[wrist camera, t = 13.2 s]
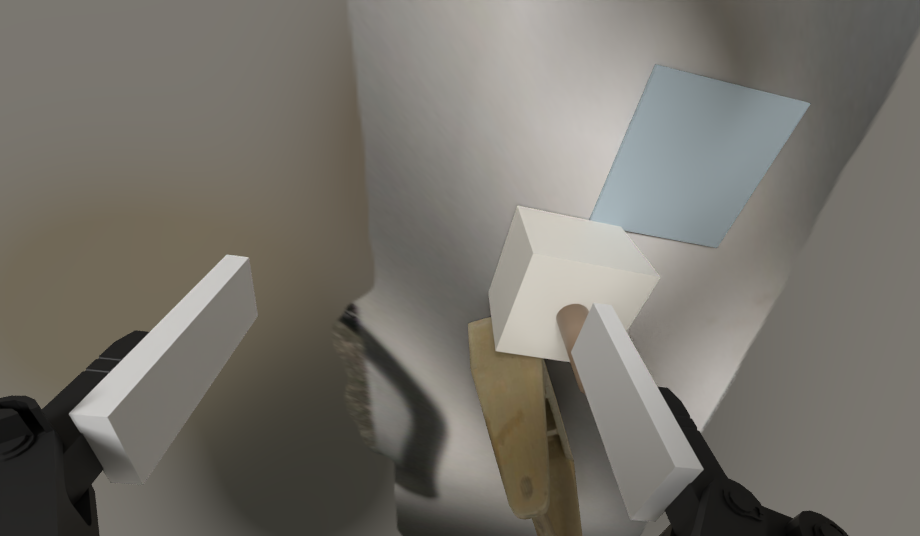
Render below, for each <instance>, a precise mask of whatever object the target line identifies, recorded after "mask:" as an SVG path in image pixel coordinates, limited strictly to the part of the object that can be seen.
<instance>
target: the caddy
mask: <svg viewBox="0 0 920 536" xmlns="http://www.w3.org/2000/svg"><path fill="white" fill-rule="evenodd" d="M468 334H469V349H470V368H471V373H472V376H473V380H474V383H475V387H476V390H477V394H478V397H479V400H480V404H481V407H482V411H483V415H484V418H485V422H486V426H487V429H488V433H489V436H490V440H491V444H492V447H493V451H494V454H495V457H496V461H497V464H498V468H499V471H500V475H501V478H502V482H503V485H504V489H505V492H506V495H507V499H508V502H509V506H510V507H511V509H512V511H513V513H514V514H515V515H516V516H517V517H518V518H519V519H531V518H532V520H533V523H534V526H535V529H536V533H537V536H582V529H581V520H580V511H579V503H578V495H577V485H576V477H575V468H574V460H573V456H572V453H571V449H570V446H569V442H568V438H567V434H566V431H565V427H564V424H563V420H562V417H561V413H560V410H559V406H558V403H557V400H556V397H555V393H554V390H553V387H552V383H551V380H550V377H549V374H548V371H547V367H546V364H545V361H544V358H538V357H532V356H525V355H518V354H512V353H505V352H498V351H495V343H494V335H493V327H492V319H491V317H488V318H484V319H481V320H478V321H474V322H471V323H468Z"/></svg>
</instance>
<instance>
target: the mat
mask: <svg viewBox="0 0 920 536" xmlns="http://www.w3.org/2000/svg"><path fill="white" fill-rule="evenodd" d="M810 104H811V103H808V102H804V101H800V100H796V99H792V98H788V97H784V96H780V95H776V94H772V93H768V92H764V91H760V90H756V89H752V88H748V87H744V86H740V85H736V84H732V83H728V82H724V81H720V80H716V79H712V78H708V77H704V76H700V75H696V74H692V73H688V72H684V71H680V70H676V69H672V68H668V67H664V66H660V65H656V64H655V66H654V68H653V71H652V73H651V75H650V78H649V80H648V82H647V85H646V87H645V89H644V92H643V94H642V96H641V99H640V101H639V103H638V106H637V108H636V111H635V113H634V115H633V118H632V120H631V122H630V125H629V127H628V129H627V132H626V134H625V136H624V139H623V141H622V144H621V146H620V148H619V151H618V153H617V155H616V158H615V160H614V162H613V165H612V167H611V169H610V172H609V174H608V176H607V179H606V181H605V184H604V186H603V188H602V191H601V193H600V195H599V198H598V200H597V202H596V205H595V207H594V209H593V212H592V214H591V217H590V219H589V220H591V221H596V222H601V223H606V224H611V225H615V226H620V227H622V229H623V230H624V231H630V232H635V233H640V234H645V235H651V236H656V237H661V238H667V239H672V240H677V241H682V242H688V243H693V244H698V245H704V246H709V247H714V248H717V247H718V246H719V244H720V243H721V241H722V240H723V238H724V237H725V235H726V233H727V232H728V230H729V229H730V227H731V226H732V224H733V223H734V221H735V220H736V218H737V216H738V215H739V213H740V212H741V210H742V209H743V207H744V206H745V204H746V203H747V201H748V199H749V198H750V196H751V195H752V193H753V192H754V190H755V189H756V187H757V186H758V184H759V183H760V181H761V179H762V178H763V176H764V175H765V173H766V172H767V170H768V169H769V167H770V166H771V164H772V162H773V161H774V159H775V158H776V156H777V155H778V153H779V152H780V150H781V149H782V147H783V145H784V144H785V142H786V141H787V139H788V138H789V136H790V135H791V133H792V132H793V130H794V128H795V127H796V125H797V124H798V122H799V121H800V119H801V118H802V116H803V115H804V113H805V112H806V110H807V108H808V107H809V105H810Z"/></svg>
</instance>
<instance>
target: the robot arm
mask: <svg viewBox="0 0 920 536" xmlns="http://www.w3.org/2000/svg"><path fill="white" fill-rule="evenodd" d="M257 316H258V313H257V308H256V301H255V294H254V288H253V281H252V274H251V268H250V261H249V258H248V257H240V256H233V255H226V256H225V257H224V258H223V259H222V260H221V261H220V262H219V263H218V264H217V265H216V266H215V267H214V268H213V269H212V270H211V271H210V272H209V273H208V274H207V275H206V276H205V277H204V278H203V279H202V280H201V281H200V282H199V283H198V284H197V285H196V286H195V287H194V288H193V289H192V290H191V292H189V293H188V294H187V295H186V296H185V297H184V298H183V299H182V300H181V301H180V302H179V303H178V304H177V305H176V306H175V307H174V308H173V309H172V310H171V311H170V312H169V313H168V314H167V315H166V316H165V317H164V318H163V319H162V320H161V321H160V322H159V323H158V325H156V326H155V327H154V328H153V329H152V330H151V331H150V332H145V331H134V332H132V333H130V334H128V335H126V336H124V337H123V338H121V339H119V340H117V341H116V342H114V343H113V344H112V345H111V346H110V347H109V348H108V349H106V350H105V351H104V352H103V353H102V354H101V355H100V356H99V359H96V360H95V361H94V362H92V364H90V366H88V367H87V368H86V371H84V372H82V373H81V374H80V375H78V376H77V377H76V378H75V379H74V380H73V381H72V382H71V383H70V384H69V385H68V386H67V387H66V388H65V389H63V390H62V391H61V392H60V393H59V394H58V395H57V396H56V397H55V398H54V399H53V400H52V401H51V402H49V403H48V404H47V405H46V406H45V407H44V408H43V409H41V408H40V406H39V405H38V404H37V402H36V401H35V400H34V399H32V398H30V397H27V396H8V397H3V398H0V536H99V527H98V517H97V508H96V499H95V491H94V489H93V487H92V485H91V484H92V483H93V482H94V480H95V479H96V478H97V477H98V475H99V474H100V473H101V472H102V470H103V471H104V473H105V474H106V476H107V478H108V479H109V481H110V482H111V483H124V484H137V485H143V484H144V483H145V481H146V480H147V478H148V477H149V475H150V474H151V472H152V471H153V470H154V468H155V467H156V465H157V464H158V462H159V461H160V459H161V458H162V456H163V455H164V453H165V452H166V450H167V449H168V447H169V446H170V444H171V443H172V441H173V440H174V439H175V437H176V435H177V434H178V433H179V431H180V430H181V428H182V427H183V425H184V424H185V422H186V421H187V419H188V418H189V416H190V415H191V413H192V412H193V410H194V409H195V408H196V406H197V405H198V403H199V402H200V400H201V399H202V397H203V396H204V394H205V393H206V391H207V390H208V388H209V387H210V385H211V384H212V382H213V381H214V380H215V378H216V377H217V375H218V374H219V372H220V371H221V369H222V367H223V366H224V365H225V363H226V362H227V360H228V359H229V357H230V356H231V354H232V353H233V352H234V350H235V349H236V347H237V346H238V344H239V343H240V341H241V340H242V338H243V337H244V335H245V334H246V332H247V331H248V329H249V328H250V327H251V325H252V324H253V322H254V321H255V319H256V318H257ZM571 354H572V357H573V360H574V362H575V365H576V368H577V371H578V374H579V376H580V379H581V382H582V385H583V388H584V390H585V393H586V396H587V399H588V402H589V405H590V407H591V410H592V413H593V416H594V419H595V421H596V424H597V427H598V430H599V433H600V435H601V438H602V441H603V444H604V447H605V450H606V452H607V455H608V458H609V461H610V464H611V466H612V469H613V472H614V475H615V478H616V480H617V483H618V486H619V489H620V492H621V494H622V497H623V500H624V503H625V506H626V509H627V511H628V514H629V517H630V520H640V521H654V522H655V521H656V520H657V519H658V518H659V517H660V516H661V515H662V514H663V513H664V512H666V514H667V516H668V519H669V521H670V523H671V524H670V525H669V526H668V527H667V528H666V530H664V532H662V534H660V535H659V536H848V535H847V533H846V532H845V531H844V530H842V529H841V528H840V527H839V526H838V525H837V524H835V523H834V522H833V521H831V520H830V519H828V518H826V517H825V516H823V515H821V514H818V513H816V512H813V511H802V512H801V513H800V514H798V515H797V516H796V517H794V518H791V517H788V516H786V515H783V514H781V513H778V512H776V511H773V510H771V509H768V508H766V507H763V506H761V504H760V502H759V501H758V500H757V499H756V498H755V496H754V495H753V494H752V493H751V492H750V491H749V490H747V489H746V488H745V487H743V486H742V485H741V484H739V483H737V482H735V481H733V480H731V479H728V477H727V476H726V475H725V473H724V471H723V470H722V468H721V467H720V465H719V463H718V461H717V460H716V458H715V456H714V455H713V453H712V451H711V450H710V448H709V447H708V445H707V443H706V442H705V440H704V438H703V437H702V435H701V433H700V432H699V431H697V427H696V425H695V423H694V422H693V420H692V419H690V415H689V413H688V412H687V410H686V408H685V407H684V405H683V403H682V402H681V401H680V400H679V399H678V398H677V397H676V396H675V395H674V394H673V393H672V392H671V391H670V390H669V389H668V388H664V387H657V385H656V384H655V382H654V380H653V378H652V376H651V375H650V373H649V371H648V369H647V368H646V366H645V364H644V362H643V360H642V359H641V357H640V355H639V353H638V351H637V350H636V348H635V346H634V344H633V343H632V341H631V339H630V337H629V335H628V334H627V332H626V330H625V328H624V327H623V325H622V323H621V321H620V319H619V318H618V316H617V314H616V312H615V310H614V309H613V307H612V305H607V304H599V303H593V304H592V307H591V309H590V311H589V313H588V315H587V318H586V320H585V322H584V324H583V327H582V329H581V331H580V333H579V335H578V338H577V340H576V342H575V344H574V346H573V349H572V351H571Z"/></svg>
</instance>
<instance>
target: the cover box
mask: <svg viewBox="0 0 920 536" xmlns="http://www.w3.org/2000/svg"><path fill="white" fill-rule="evenodd" d="M660 278H661V277H660V275H659V274H658V273H657V271H656V270H655V269H654V268H653V266H652V265H651V264H650V263H649V261H648V260H647V259H646V258H645V256H644V255H643V254H642V253H641V251H640V250H639V249H638V247H637V246H636V245H635V244H634V242H633V241H632V240H631V239H630V237H629V236H628V235H627V234H626V232H625V231H624V230H623V229H622V227H620V226H615V225H611V224H606V223H601V222H596V221H591V220H586V219H581V218H576V217H571V216H566V215H561V214H557V213H552V212H547V211H542V210H537V209H532V208H527V207H522V206H517V208H516V211H515V214H514V217H513V220H512V223H511V226H510V229H509V232H508V235H507V238H506V241H505V244H504V247H503V250H502V253H501V256H500V259H499V262H498V265H497V268H496V271H495V274H494V277H493V280H492V284H491V287H490V290H489V293H488V295H489V303H490V311H491V319H492V327H493V335H494V343H495V351H498V352H505V353H512V354H518V355H525V356H532V357H538V358H545V359H552V360H558V361H565V362H570V363H571V366H572V369H573V372H574V375H575V378H576V381H577V384H578V386H579V389H580V391H581V392H582V393H584V394H586V393H585V390H584V388H583V385H582V382H581V379H580V376H579V374H578V371H577V368H576V365H575V362H574V360H573V357H572V354H571V351H572V349H573V346H574V344H575V342H576V340H577V338H578V335H579V333H580V331H581V329H582V327H583V324H584V322H585V320H586V318H587V315H588V313H589V311H590V309H591V307H592V304H593V303H599V304H607V305H612V307H613V309H614V310H615V312H616V314H617V316H618V318H619V319H620V321H621V323H622V325H623V327H624V328H625V330H626V332H627V330H628V329H629V327H630V326H631V324H632V322H633V321H634V319H635V318H636V316H637V314H638V313H639V311H640V310H641V308H642V306H643V305H644V303H645V302H646V300H647V299H648V297H649V295H650V294H651V292H652V291H653V289H654V287H655V286H656V284H657V283H658V281H659V280H660Z"/></svg>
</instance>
